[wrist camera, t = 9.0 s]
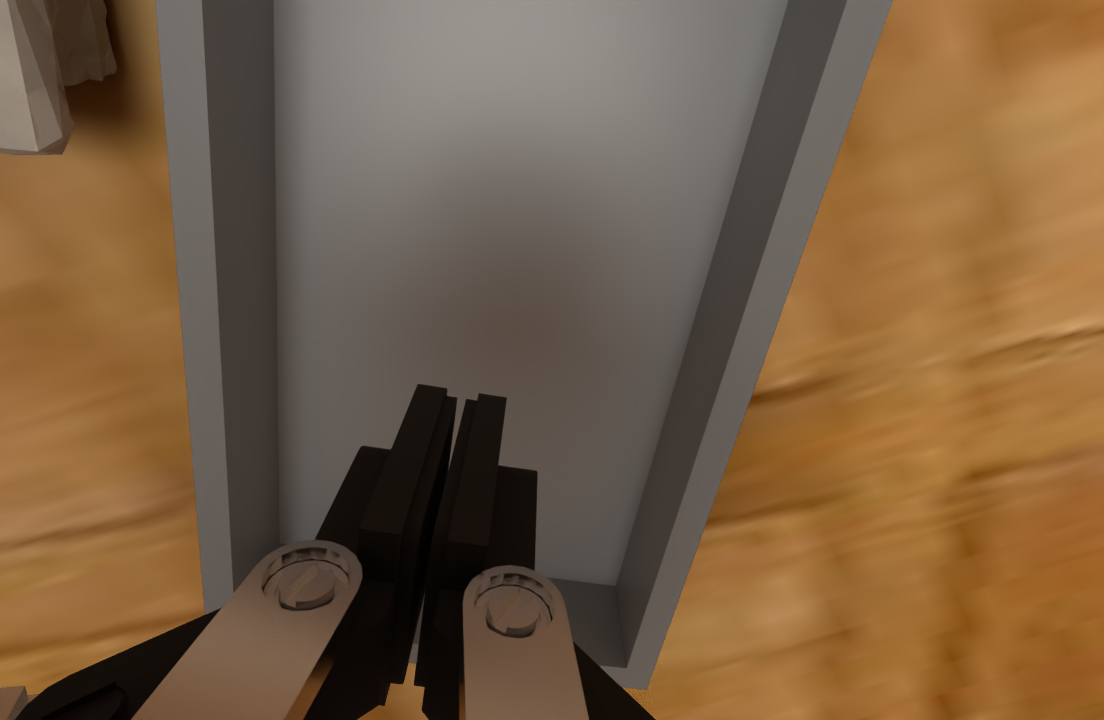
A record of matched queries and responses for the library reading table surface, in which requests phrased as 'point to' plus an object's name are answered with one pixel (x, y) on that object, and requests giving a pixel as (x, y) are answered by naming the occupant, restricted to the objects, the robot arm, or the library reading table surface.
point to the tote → (496, 257)
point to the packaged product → (47, 68)
